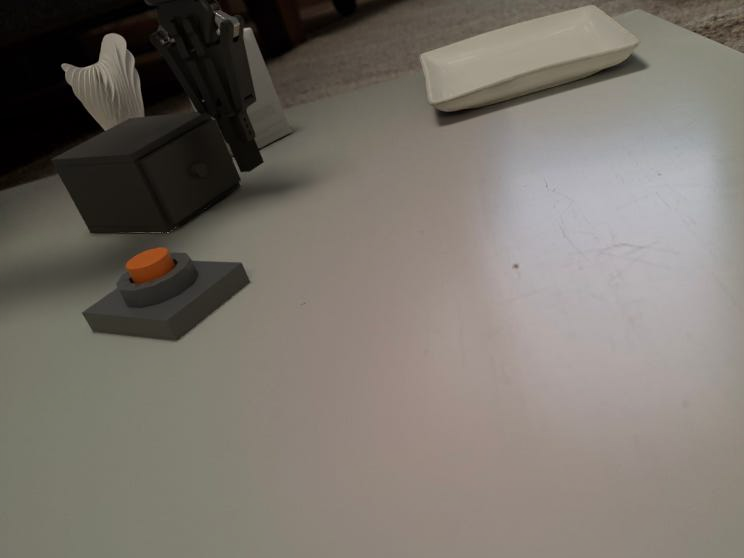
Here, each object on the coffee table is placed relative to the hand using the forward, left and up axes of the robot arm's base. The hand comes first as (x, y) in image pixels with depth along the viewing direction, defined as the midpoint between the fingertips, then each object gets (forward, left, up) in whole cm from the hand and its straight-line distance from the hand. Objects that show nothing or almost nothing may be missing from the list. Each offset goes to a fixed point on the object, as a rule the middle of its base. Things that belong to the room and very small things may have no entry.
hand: (252, 166), depth 101 cm
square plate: (+27, +30, -3) cm, 41 cm away
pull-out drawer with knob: (-11, -2, -2) cm, 12 cm away
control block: (+3, -27, -3) cm, 27 cm away
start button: (+3, -27, 0) cm, 27 cm away
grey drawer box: (-14, -1, -3) cm, 14 cm away
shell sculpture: (-32, +21, -3) cm, 38 cm away
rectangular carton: (-12, +20, -3) cm, 23 cm away
